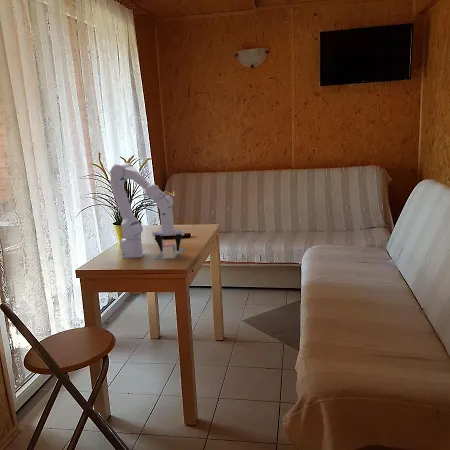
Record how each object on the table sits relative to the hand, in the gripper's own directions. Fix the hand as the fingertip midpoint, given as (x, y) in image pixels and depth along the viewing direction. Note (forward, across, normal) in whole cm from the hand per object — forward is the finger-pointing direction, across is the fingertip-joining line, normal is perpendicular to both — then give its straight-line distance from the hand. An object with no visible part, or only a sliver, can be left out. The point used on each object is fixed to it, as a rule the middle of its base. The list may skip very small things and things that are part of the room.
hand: (169, 250), depth 206 cm
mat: (+3, -1, +3) cm, 4 cm away
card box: (+2, 0, 0) cm, 2 cm away
